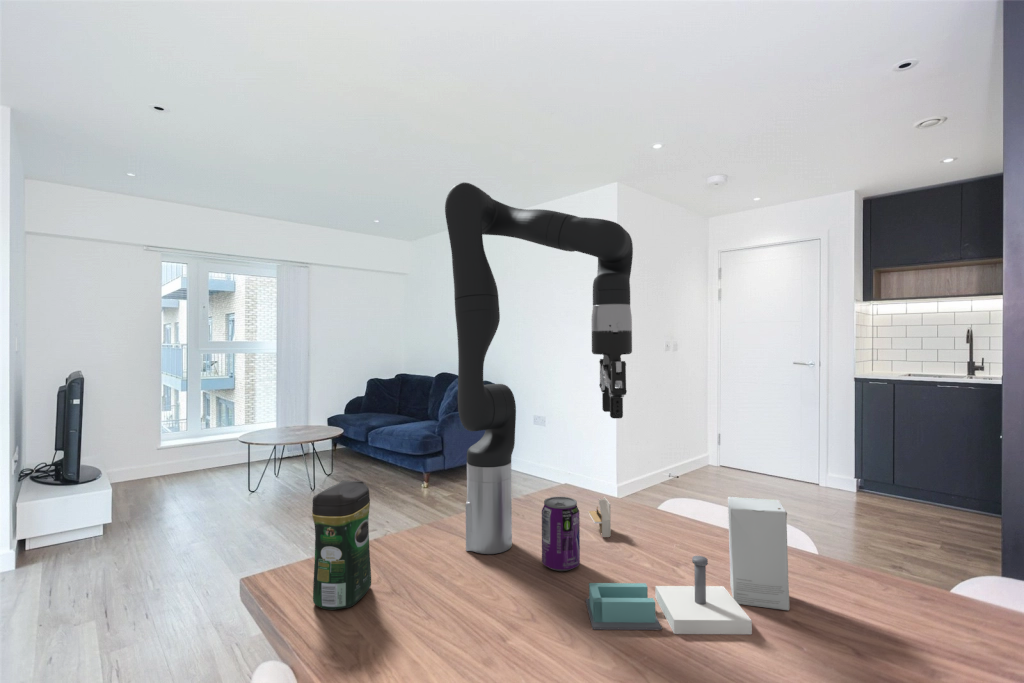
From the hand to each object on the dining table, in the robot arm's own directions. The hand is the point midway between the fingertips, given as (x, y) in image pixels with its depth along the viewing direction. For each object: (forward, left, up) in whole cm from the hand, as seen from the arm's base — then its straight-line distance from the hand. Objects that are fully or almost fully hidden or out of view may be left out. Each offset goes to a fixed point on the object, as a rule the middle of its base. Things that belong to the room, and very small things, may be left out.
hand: (612, 414), depth 94 cm
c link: (-2, -18, -28) cm, 33 cm away
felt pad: (-2, -18, -28) cm, 33 cm away
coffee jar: (-47, -13, -28) cm, 56 cm away
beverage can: (-10, -1, -28) cm, 30 cm away
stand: (+10, -18, -28) cm, 35 cm away
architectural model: (+1, +15, -29) cm, 33 cm away
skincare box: (+21, -13, -28) cm, 38 cm away
